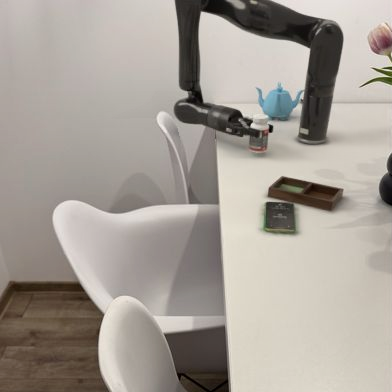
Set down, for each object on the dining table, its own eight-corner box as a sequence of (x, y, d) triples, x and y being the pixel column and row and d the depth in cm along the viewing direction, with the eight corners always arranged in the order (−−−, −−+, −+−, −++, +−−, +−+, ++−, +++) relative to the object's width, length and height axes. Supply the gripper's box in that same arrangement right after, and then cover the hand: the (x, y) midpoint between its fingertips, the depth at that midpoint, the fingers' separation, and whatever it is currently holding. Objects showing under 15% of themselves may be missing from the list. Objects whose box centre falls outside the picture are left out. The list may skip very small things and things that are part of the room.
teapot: (252, 116, 182) (254, 86, 176) (278, 110, 188) (280, 81, 181) (276, 124, 174) (279, 93, 168) (302, 117, 180) (305, 87, 174)
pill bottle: (266, 154, 148) (269, 119, 141) (247, 152, 149) (249, 118, 142) (267, 147, 152) (270, 113, 145) (249, 146, 153) (252, 112, 146)
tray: (280, 184, 134) (281, 175, 133) (341, 198, 128) (343, 188, 126) (267, 196, 128) (268, 187, 127) (331, 211, 122) (332, 201, 120)
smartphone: (263, 228, 113) (264, 200, 124) (263, 232, 113) (264, 204, 125) (296, 230, 112) (294, 202, 123) (295, 233, 113) (294, 205, 124)
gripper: (209, 111, 148) (251, 124, 139) (240, 102, 155) (282, 113, 146) (208, 137, 153) (249, 150, 144) (238, 126, 160) (279, 139, 151)
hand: (265, 131), depth 145 cm, fingers closed on pill bottle, 5 cm apart
